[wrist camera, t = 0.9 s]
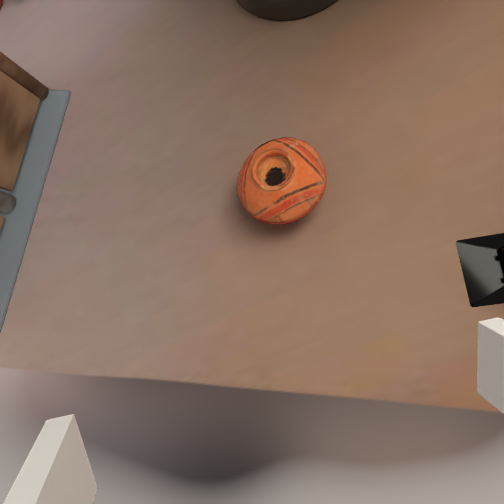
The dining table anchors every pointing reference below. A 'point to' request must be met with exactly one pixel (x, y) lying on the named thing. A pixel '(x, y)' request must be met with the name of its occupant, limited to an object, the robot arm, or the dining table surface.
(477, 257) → the black box
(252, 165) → the pot
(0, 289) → the card
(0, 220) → the hinged fence panel
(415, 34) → the dining table surface
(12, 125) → the fixed fence
